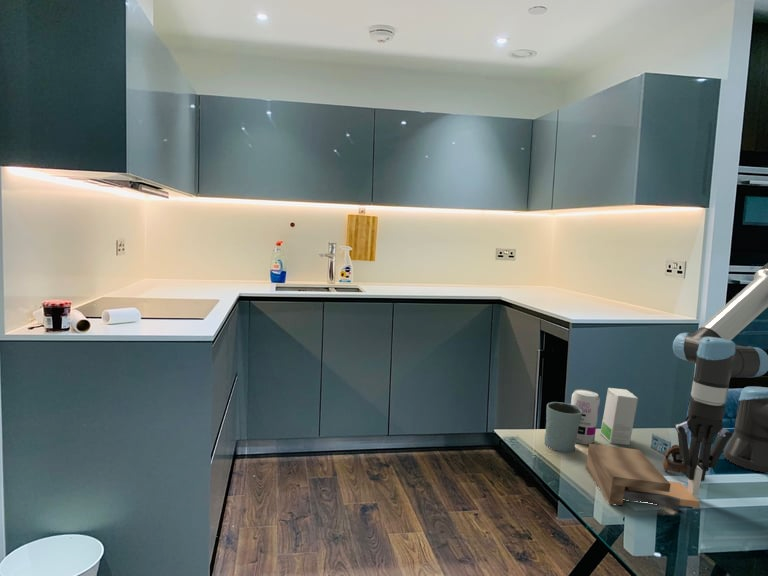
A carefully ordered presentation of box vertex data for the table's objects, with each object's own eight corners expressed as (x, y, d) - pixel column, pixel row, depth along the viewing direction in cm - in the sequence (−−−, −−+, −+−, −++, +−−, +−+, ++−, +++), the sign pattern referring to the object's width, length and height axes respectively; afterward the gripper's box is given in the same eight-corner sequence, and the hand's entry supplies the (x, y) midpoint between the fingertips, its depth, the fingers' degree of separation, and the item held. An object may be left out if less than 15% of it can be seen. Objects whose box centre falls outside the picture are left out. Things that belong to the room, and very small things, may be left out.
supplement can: (588, 436, 173) (595, 390, 172) (597, 446, 165) (604, 398, 163) (563, 433, 174) (569, 387, 172) (570, 443, 165) (577, 395, 164)
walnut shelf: (650, 476, 146) (654, 451, 146) (683, 514, 127) (688, 486, 126) (585, 468, 148) (589, 443, 147) (608, 504, 128) (612, 476, 127)
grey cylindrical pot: (567, 440, 168) (572, 402, 167) (583, 454, 158) (589, 414, 157) (536, 439, 166) (541, 401, 165) (551, 453, 156) (556, 412, 155)
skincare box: (599, 433, 176) (606, 387, 175) (620, 435, 176) (626, 389, 175) (610, 444, 168) (617, 395, 166) (631, 445, 168) (638, 397, 166)
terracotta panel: (679, 489, 141) (680, 482, 141) (698, 509, 131) (699, 501, 131) (616, 481, 142) (617, 474, 142) (630, 500, 132) (631, 492, 132)
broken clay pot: (711, 484, 146) (705, 460, 144) (675, 493, 148) (668, 470, 146) (690, 455, 158) (684, 433, 155) (657, 464, 159) (650, 442, 157)
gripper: (727, 399, 136) (712, 488, 139) (673, 393, 137) (659, 481, 140) (744, 408, 129) (728, 503, 131) (687, 402, 130) (672, 495, 133)
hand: (692, 492), depth 136 cm, fingers closed
